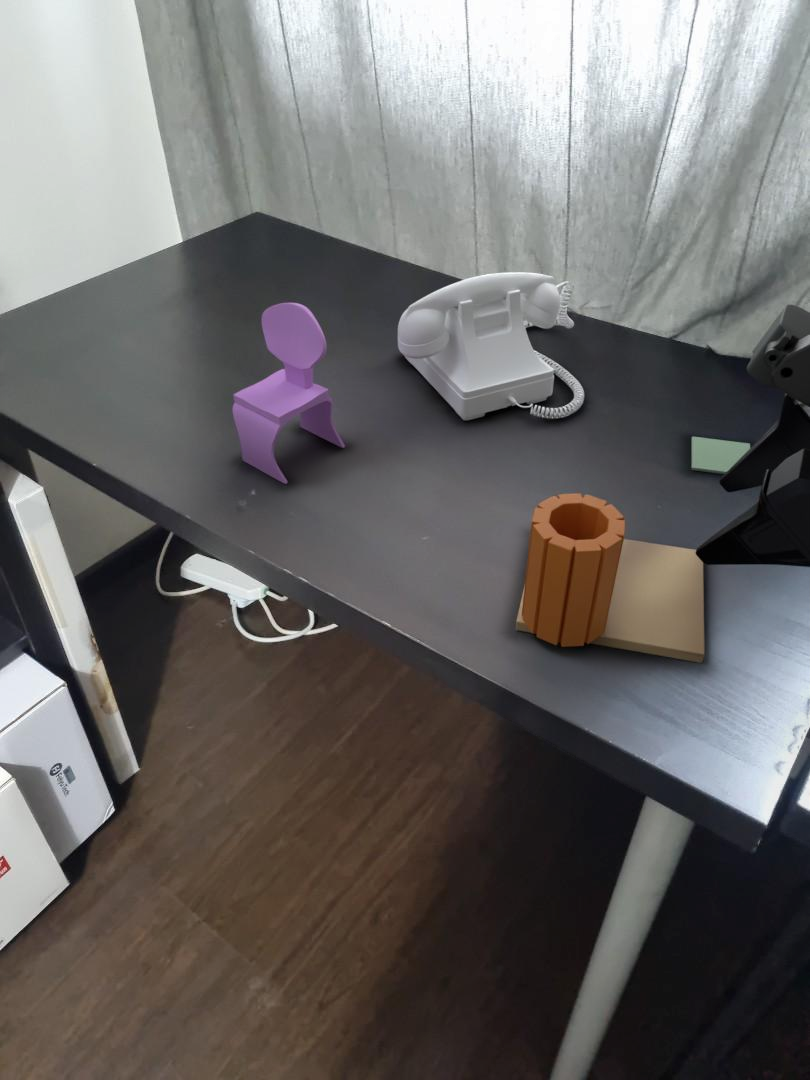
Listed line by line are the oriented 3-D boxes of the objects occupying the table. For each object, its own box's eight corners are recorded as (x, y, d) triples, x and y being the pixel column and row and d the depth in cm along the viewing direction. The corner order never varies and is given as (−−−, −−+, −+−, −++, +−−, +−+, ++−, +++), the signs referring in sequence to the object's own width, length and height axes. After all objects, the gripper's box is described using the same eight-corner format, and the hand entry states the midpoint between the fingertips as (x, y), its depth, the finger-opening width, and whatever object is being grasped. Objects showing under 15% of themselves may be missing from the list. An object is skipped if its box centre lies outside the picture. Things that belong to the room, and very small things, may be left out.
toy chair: (232, 458, 83) (206, 319, 73) (296, 422, 88) (279, 286, 78) (288, 491, 79) (269, 347, 69) (352, 450, 84) (343, 311, 74)
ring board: (700, 559, 70) (714, 513, 67) (701, 663, 62) (717, 616, 58) (536, 534, 73) (541, 489, 70) (515, 630, 64) (520, 583, 61)
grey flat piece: (749, 445, 83) (749, 443, 83) (752, 477, 79) (752, 475, 79) (691, 438, 84) (692, 436, 84) (691, 469, 80) (691, 467, 80)
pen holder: (609, 594, 66) (628, 499, 60) (602, 654, 61) (622, 558, 55) (529, 580, 67) (539, 487, 61) (516, 638, 62) (526, 543, 56)
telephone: (549, 320, 105) (559, 221, 97) (649, 396, 91) (671, 287, 82) (367, 361, 98) (362, 257, 90) (444, 452, 83) (446, 338, 75)
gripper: (870, 222, 50) (662, 374, 60) (859, 326, 36) (593, 499, 46) (981, 361, 51) (759, 486, 61) (1012, 512, 37) (719, 640, 48)
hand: (712, 519), depth 54 cm, fingers open, 9 cm apart
